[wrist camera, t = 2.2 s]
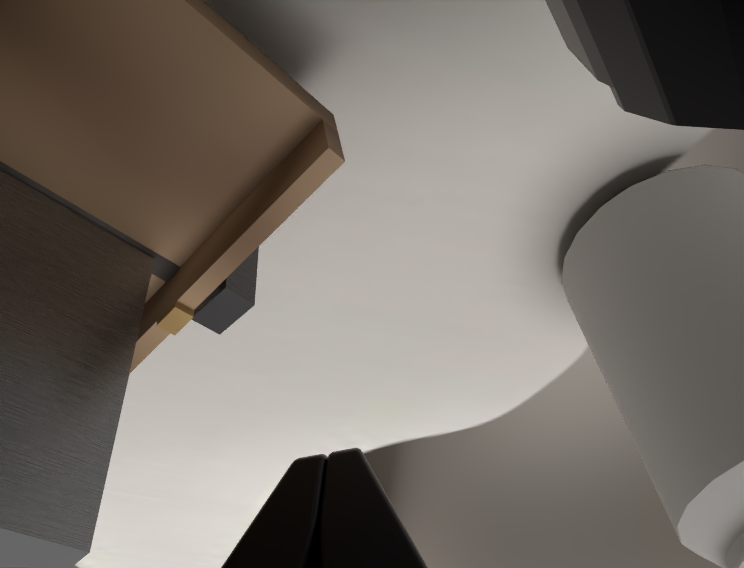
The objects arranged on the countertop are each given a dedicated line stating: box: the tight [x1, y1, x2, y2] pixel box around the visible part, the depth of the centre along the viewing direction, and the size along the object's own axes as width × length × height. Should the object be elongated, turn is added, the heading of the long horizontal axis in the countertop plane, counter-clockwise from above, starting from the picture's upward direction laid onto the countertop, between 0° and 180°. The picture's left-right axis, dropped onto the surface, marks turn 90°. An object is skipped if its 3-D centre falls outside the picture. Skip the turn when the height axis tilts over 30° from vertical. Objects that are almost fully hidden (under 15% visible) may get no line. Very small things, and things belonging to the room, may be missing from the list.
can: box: [562, 165, 744, 568], centre depth 18 cm, size 8×8×12 cm
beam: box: [0, 0, 345, 374], centre depth 16 cm, size 18×8×3 cm, turn 134°
